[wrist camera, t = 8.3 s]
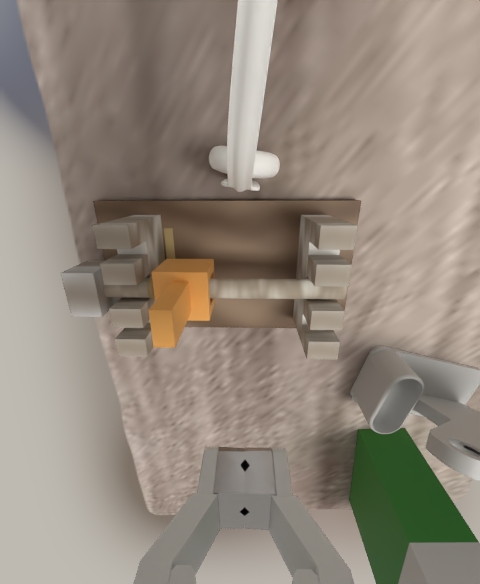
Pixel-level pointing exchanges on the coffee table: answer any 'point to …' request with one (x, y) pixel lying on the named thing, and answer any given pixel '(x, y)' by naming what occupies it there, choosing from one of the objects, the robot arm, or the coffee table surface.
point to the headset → (247, 99)
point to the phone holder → (423, 402)
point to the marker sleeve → (179, 298)
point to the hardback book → (408, 515)
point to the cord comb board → (223, 265)
